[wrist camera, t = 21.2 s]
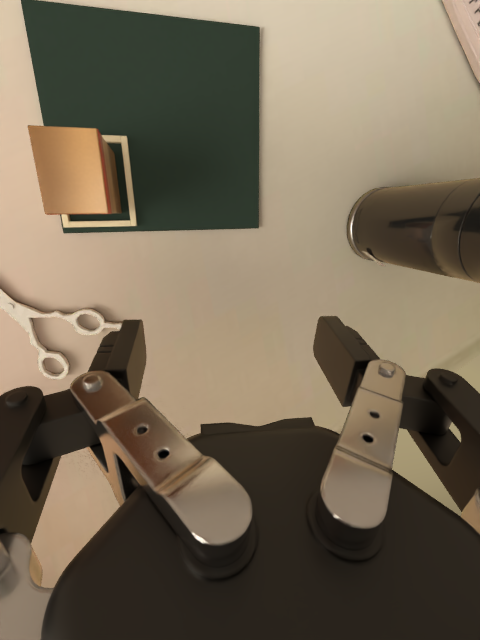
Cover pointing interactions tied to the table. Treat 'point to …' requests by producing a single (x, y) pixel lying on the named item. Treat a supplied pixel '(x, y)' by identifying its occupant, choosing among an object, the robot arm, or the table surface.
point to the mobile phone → (467, 28)
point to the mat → (155, 111)
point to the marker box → (75, 170)
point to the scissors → (25, 314)
